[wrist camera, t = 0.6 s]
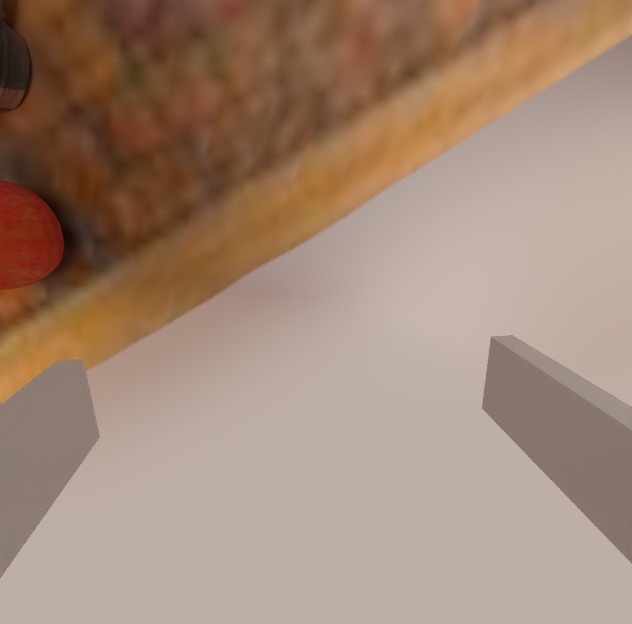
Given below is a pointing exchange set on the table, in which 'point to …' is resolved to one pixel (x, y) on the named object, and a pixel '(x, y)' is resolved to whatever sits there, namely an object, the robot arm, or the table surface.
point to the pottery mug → (12, 65)
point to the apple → (27, 237)
